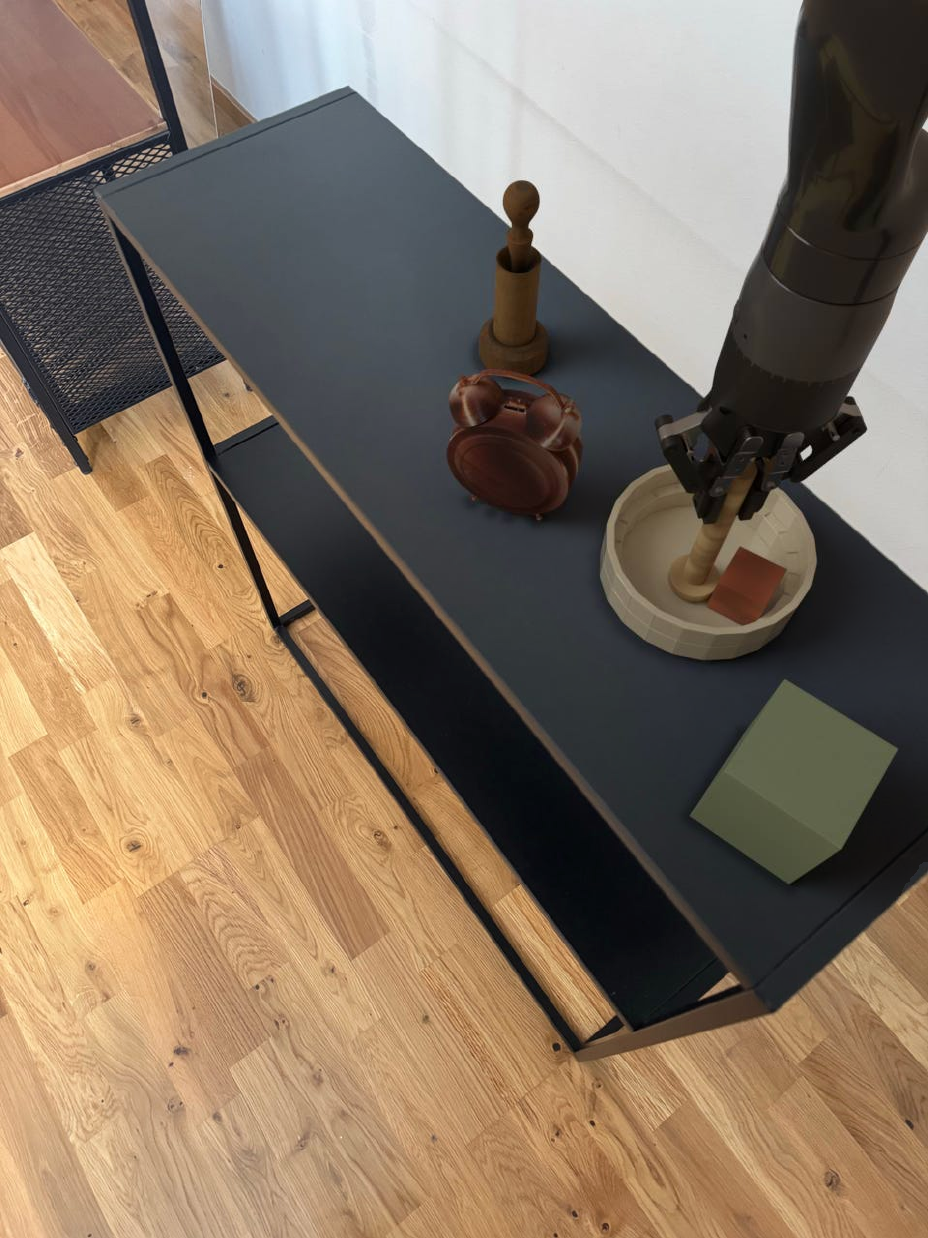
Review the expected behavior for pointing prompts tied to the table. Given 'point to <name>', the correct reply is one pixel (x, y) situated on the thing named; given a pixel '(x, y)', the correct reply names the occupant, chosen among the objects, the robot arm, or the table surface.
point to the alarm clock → (514, 443)
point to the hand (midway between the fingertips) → (723, 511)
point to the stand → (794, 784)
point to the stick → (709, 546)
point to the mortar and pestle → (516, 292)
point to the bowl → (667, 529)
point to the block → (746, 587)
